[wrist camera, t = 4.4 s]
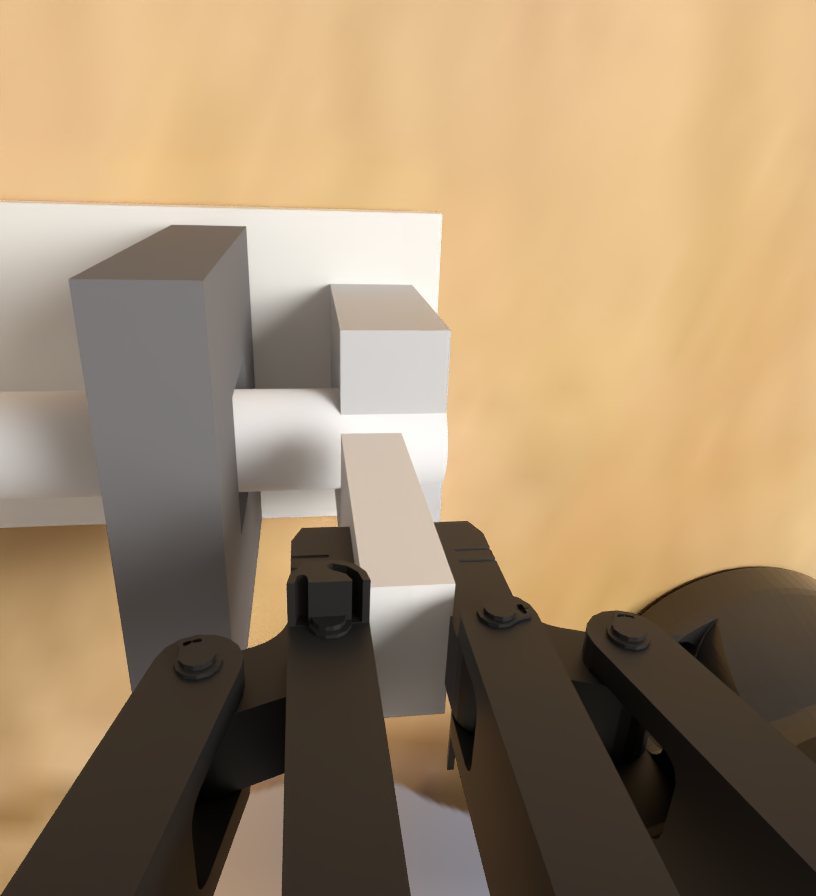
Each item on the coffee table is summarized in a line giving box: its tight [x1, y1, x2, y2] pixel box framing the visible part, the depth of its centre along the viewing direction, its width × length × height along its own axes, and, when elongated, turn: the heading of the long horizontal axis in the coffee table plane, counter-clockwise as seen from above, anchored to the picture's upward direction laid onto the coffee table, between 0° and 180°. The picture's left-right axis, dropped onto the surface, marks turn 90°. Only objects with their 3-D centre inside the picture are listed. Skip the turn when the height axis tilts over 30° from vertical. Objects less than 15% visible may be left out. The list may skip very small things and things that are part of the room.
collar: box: [68, 225, 262, 693], centre depth 20 cm, size 2×11×11 cm, turn 178°
